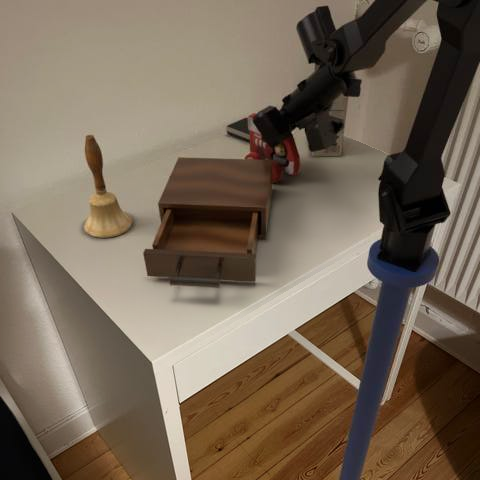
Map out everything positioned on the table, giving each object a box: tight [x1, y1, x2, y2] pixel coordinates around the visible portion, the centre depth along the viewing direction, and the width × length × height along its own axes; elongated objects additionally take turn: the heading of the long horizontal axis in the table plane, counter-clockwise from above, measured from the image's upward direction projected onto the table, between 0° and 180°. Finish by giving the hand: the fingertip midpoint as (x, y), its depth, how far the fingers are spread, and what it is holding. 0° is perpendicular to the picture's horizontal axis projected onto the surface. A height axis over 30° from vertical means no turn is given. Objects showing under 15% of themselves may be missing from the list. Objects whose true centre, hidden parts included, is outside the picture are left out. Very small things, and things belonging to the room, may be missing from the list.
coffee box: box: [311, 63, 349, 157], centre depth 104 cm, size 9×6×16 cm
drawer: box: [143, 208, 260, 289], centre depth 78 cm, size 20×16×4 cm
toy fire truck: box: [244, 112, 301, 184], centre depth 97 cm, size 7×12×10 cm, turn 44°
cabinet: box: [157, 156, 274, 240], centre depth 89 cm, size 17×18×6 cm
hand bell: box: [83, 134, 133, 239], centre depth 83 cm, size 8×8×16 cm
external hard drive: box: [225, 117, 250, 143], centre depth 113 cm, size 7×11×2 cm, turn 46°
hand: (266, 138), depth 97 cm, fingers closed on toy fire truck, 2 cm apart
